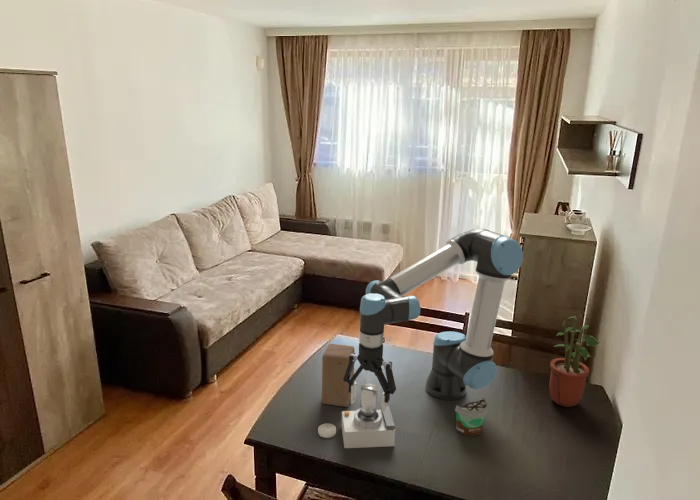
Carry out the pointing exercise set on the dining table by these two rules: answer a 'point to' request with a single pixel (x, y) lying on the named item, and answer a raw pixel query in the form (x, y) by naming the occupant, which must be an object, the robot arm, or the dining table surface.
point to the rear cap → (327, 430)
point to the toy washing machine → (368, 430)
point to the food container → (471, 417)
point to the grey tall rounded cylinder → (368, 402)
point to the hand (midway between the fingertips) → (368, 405)
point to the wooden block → (336, 375)
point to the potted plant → (570, 369)
